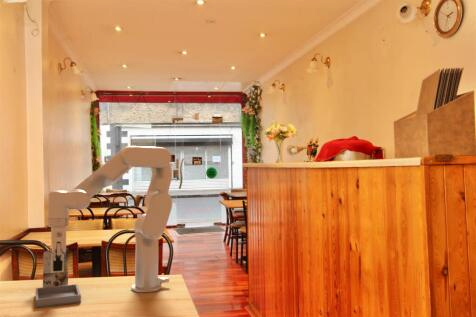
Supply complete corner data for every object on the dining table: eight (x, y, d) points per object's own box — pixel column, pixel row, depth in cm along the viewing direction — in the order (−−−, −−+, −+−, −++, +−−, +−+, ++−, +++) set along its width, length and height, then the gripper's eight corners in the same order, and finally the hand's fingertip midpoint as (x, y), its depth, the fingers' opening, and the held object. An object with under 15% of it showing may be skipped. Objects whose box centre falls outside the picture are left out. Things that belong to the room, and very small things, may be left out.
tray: (77, 291, 184) (77, 284, 184) (80, 302, 170) (80, 294, 170) (35, 295, 177) (35, 288, 177) (35, 308, 163) (35, 299, 163)
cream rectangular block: (63, 269, 176) (63, 251, 176) (63, 271, 172) (64, 253, 172) (50, 270, 174) (51, 252, 174) (51, 272, 170) (51, 254, 170)
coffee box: (56, 291, 183) (56, 252, 183) (42, 290, 184) (42, 251, 184) (68, 285, 192) (69, 248, 192) (55, 284, 193) (55, 247, 193)
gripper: (70, 225, 167) (69, 273, 167) (67, 219, 183) (66, 263, 183) (48, 225, 164) (47, 275, 164) (47, 219, 179) (46, 265, 179)
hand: (57, 268), depth 173 cm, fingers closed on cream rectangular block, 4 cm apart
